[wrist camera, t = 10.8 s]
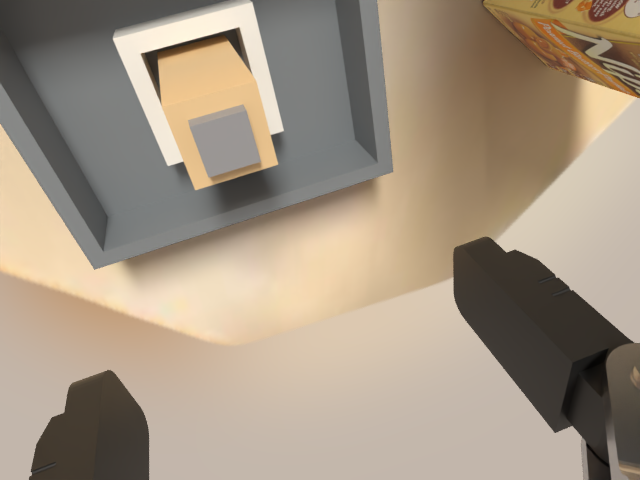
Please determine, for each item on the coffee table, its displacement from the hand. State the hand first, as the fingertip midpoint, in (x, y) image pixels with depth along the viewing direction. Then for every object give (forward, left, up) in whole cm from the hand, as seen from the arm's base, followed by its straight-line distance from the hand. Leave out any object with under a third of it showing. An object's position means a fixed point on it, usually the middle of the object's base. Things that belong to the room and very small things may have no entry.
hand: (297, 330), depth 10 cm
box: (0, 0, -23) cm, 23 cm away
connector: (0, 0, -22) cm, 22 cm away
